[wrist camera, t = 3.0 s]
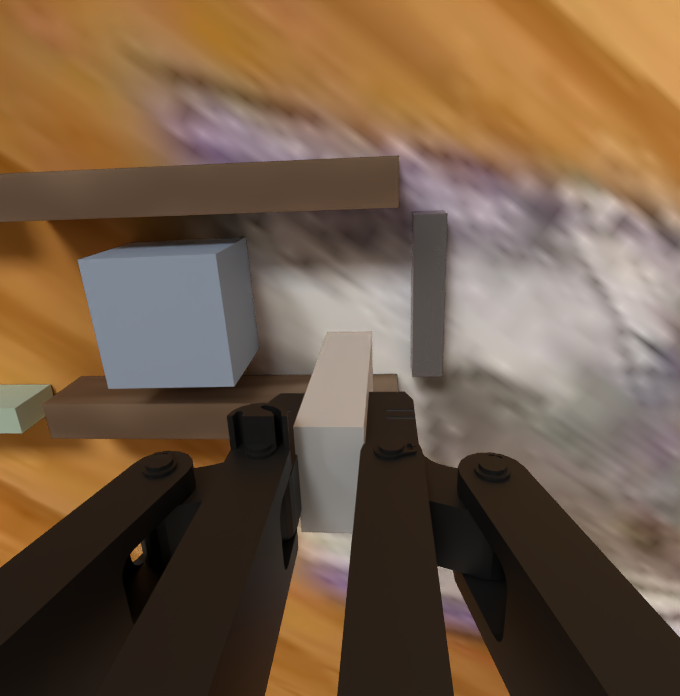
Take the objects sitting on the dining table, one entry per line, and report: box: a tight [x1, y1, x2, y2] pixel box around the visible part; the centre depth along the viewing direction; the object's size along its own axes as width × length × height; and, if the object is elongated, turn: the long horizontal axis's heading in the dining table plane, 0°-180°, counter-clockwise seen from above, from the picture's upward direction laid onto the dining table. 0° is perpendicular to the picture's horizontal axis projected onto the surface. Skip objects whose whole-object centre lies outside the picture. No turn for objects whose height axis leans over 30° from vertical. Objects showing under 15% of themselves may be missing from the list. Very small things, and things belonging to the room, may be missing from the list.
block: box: [78, 237, 259, 389], centre depth 24 cm, size 6×6×5 cm
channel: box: [0, 156, 399, 439], centre depth 24 cm, size 13×18×4 cm
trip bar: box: [411, 211, 447, 377], centre depth 24 cm, size 8×2×2 cm, turn 2°
